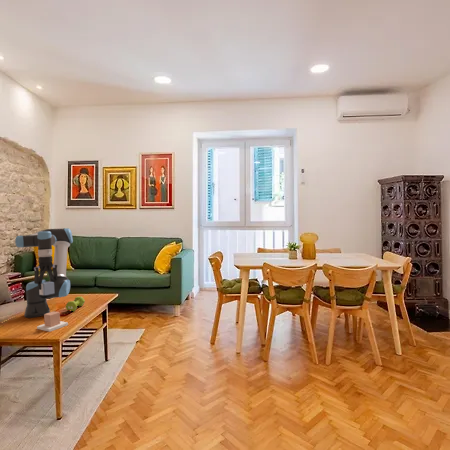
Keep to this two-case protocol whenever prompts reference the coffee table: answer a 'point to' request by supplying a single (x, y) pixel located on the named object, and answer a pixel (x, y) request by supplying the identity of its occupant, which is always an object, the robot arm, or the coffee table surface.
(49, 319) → the terracotta block
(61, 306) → the coffee table surface
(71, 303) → the dumbbell
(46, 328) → the baseboard
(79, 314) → the coffee table surface
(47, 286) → the slate block
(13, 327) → the coffee table surface
